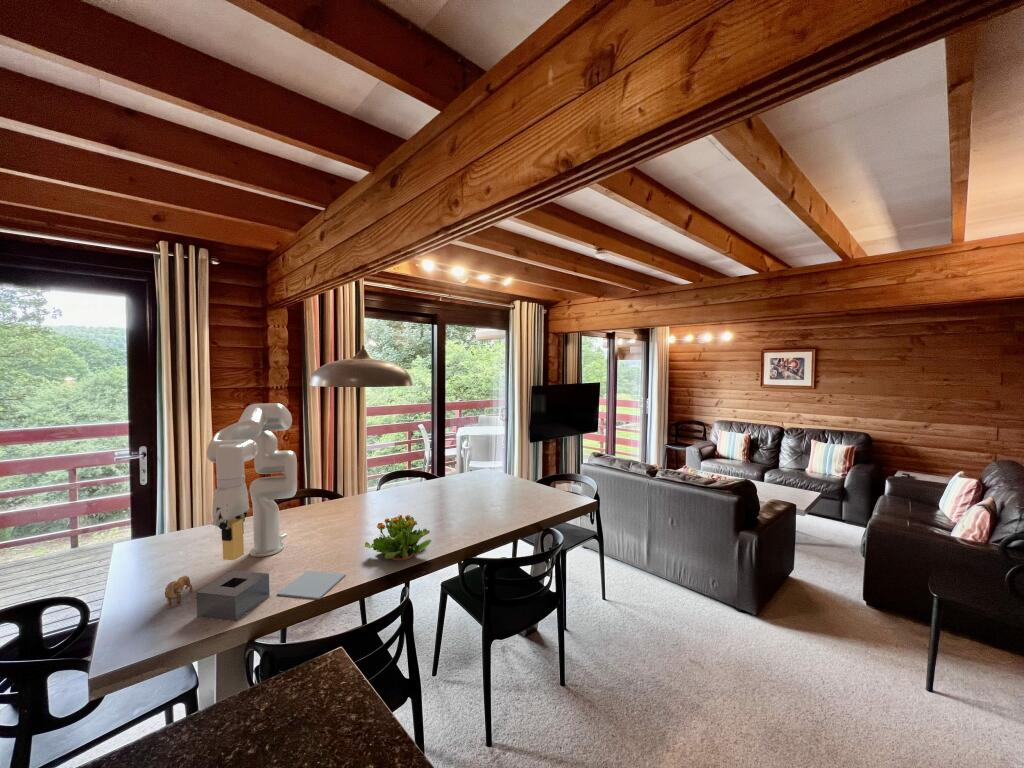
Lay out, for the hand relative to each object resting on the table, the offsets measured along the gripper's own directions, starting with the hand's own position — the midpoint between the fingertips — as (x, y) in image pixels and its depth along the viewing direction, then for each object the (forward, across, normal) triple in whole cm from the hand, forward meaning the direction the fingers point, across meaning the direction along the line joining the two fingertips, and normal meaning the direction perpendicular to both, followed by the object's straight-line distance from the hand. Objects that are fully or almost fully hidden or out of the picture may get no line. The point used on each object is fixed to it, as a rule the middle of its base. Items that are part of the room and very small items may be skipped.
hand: (232, 536), depth 134 cm
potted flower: (+24, -43, +40) cm, 63 cm away
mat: (+23, -16, +17) cm, 33 cm away
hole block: (+23, 0, 0) cm, 23 cm away
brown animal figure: (+24, 0, -21) cm, 31 cm away
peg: (+7, 0, 0) cm, 7 cm away
